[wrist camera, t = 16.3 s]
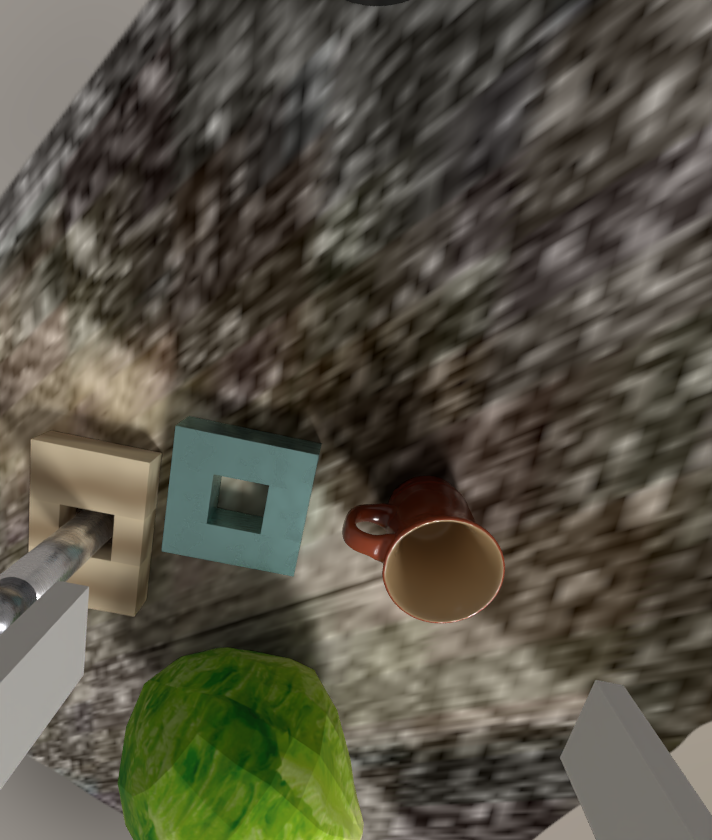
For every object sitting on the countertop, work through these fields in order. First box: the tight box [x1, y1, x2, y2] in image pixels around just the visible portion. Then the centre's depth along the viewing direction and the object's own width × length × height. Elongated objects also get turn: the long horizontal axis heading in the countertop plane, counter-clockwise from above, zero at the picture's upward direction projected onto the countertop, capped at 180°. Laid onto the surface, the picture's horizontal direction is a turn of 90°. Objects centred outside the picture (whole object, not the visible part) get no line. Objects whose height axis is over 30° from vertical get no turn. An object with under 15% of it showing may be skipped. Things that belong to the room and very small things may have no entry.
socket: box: [162, 416, 321, 576], centre depth 40 cm, size 12×12×3 cm
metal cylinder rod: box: [0, 509, 115, 635], centre depth 35 cm, size 4×4×14 cm
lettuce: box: [118, 647, 364, 840], centre depth 39 cm, size 19×25×17 cm
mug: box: [342, 476, 505, 623], centre depth 37 cm, size 12×9×10 cm
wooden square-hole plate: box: [29, 430, 162, 617], centre depth 41 cm, size 16×10×2 cm, turn 168°
